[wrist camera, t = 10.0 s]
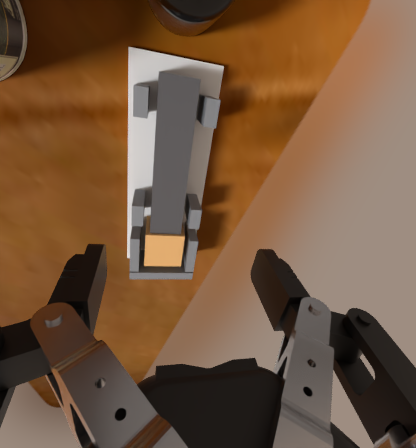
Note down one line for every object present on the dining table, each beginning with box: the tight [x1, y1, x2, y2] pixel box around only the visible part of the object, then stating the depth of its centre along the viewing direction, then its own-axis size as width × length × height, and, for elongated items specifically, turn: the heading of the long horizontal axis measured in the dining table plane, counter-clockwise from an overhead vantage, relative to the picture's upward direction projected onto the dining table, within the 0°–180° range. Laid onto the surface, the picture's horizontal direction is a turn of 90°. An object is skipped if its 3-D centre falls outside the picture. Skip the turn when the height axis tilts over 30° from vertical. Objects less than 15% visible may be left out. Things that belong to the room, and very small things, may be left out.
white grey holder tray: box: [127, 47, 224, 279], centre depth 28 cm, size 24×9×6 cm, turn 171°
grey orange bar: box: [144, 71, 201, 266], centre depth 27 cm, size 20×4×4 cm, turn 171°
